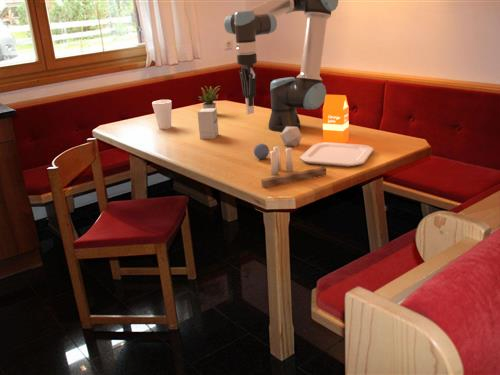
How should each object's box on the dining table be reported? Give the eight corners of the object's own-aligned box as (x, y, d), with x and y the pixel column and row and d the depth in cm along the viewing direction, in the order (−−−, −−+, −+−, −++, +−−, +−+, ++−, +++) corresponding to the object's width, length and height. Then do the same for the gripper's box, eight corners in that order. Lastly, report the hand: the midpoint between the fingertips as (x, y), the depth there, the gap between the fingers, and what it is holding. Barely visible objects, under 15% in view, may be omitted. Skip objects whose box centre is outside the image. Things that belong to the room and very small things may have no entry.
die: (290, 150, 217) (303, 131, 215) (274, 139, 219) (287, 120, 217) (295, 152, 224) (308, 133, 222) (279, 140, 227) (292, 122, 225)
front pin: (279, 167, 196) (278, 146, 193) (281, 169, 194) (281, 147, 191) (273, 168, 195) (272, 147, 192) (276, 170, 193) (275, 148, 190)
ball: (265, 155, 211) (265, 140, 209) (271, 159, 206) (271, 144, 204) (252, 157, 209) (251, 143, 207) (257, 161, 204) (256, 147, 202)
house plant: (230, 112, 286) (227, 82, 280) (218, 118, 274) (216, 87, 268) (207, 111, 292) (204, 81, 286) (194, 117, 280) (191, 86, 274)
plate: (361, 170, 188) (361, 165, 188) (296, 165, 199) (296, 159, 198) (376, 150, 209) (376, 145, 208) (316, 146, 219) (316, 141, 219)
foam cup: (152, 129, 262) (148, 103, 257) (161, 124, 270) (158, 99, 265) (168, 130, 258) (165, 104, 254) (177, 125, 266) (174, 99, 261)
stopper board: (323, 173, 187) (323, 167, 186) (326, 175, 185) (326, 168, 184) (261, 186, 179) (261, 179, 178) (264, 188, 177) (263, 181, 176)
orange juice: (329, 138, 228) (328, 92, 221) (348, 139, 224) (349, 93, 217) (322, 143, 222) (322, 96, 214) (343, 145, 218) (343, 97, 210)
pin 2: (291, 169, 193) (290, 147, 190) (294, 171, 191) (293, 149, 188) (285, 170, 193) (284, 148, 189) (288, 172, 190) (287, 150, 187)
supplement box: (215, 138, 238) (212, 111, 234) (199, 139, 240) (196, 111, 235) (219, 134, 245) (216, 107, 240) (204, 134, 246) (201, 108, 242)
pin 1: (276, 172, 191) (275, 150, 188) (279, 174, 189) (278, 151, 186) (270, 173, 191) (269, 151, 187) (273, 175, 188) (272, 152, 185)
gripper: (231, 52, 206) (235, 111, 214) (243, 55, 194) (247, 118, 203) (249, 50, 208) (252, 109, 217) (262, 53, 197) (265, 115, 205)
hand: (250, 113), depth 210 cm, fingers closed
